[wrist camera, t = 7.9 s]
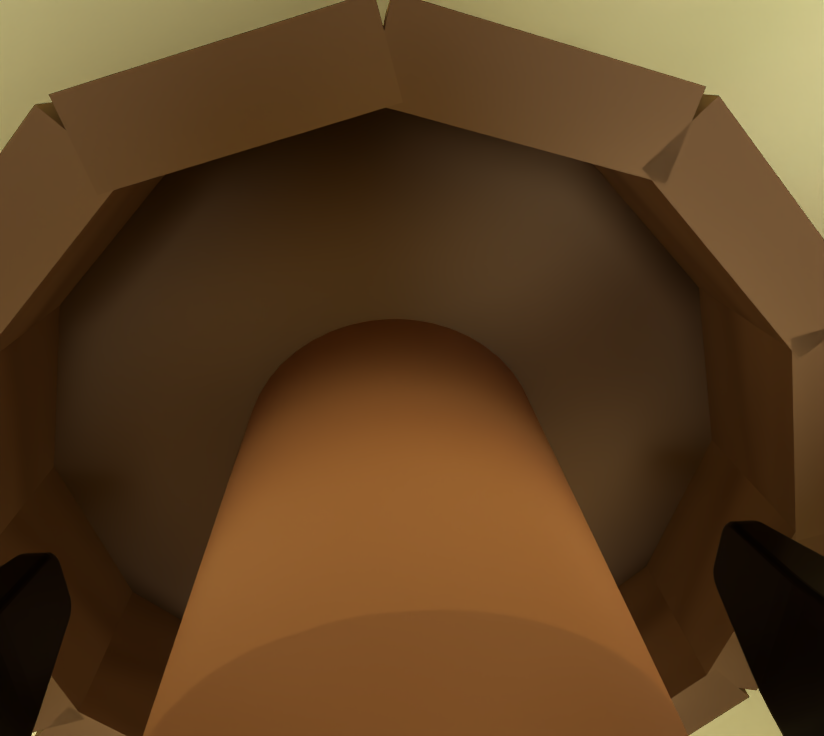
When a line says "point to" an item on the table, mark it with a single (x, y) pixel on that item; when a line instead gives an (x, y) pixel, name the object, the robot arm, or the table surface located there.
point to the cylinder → (404, 563)
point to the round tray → (398, 309)
